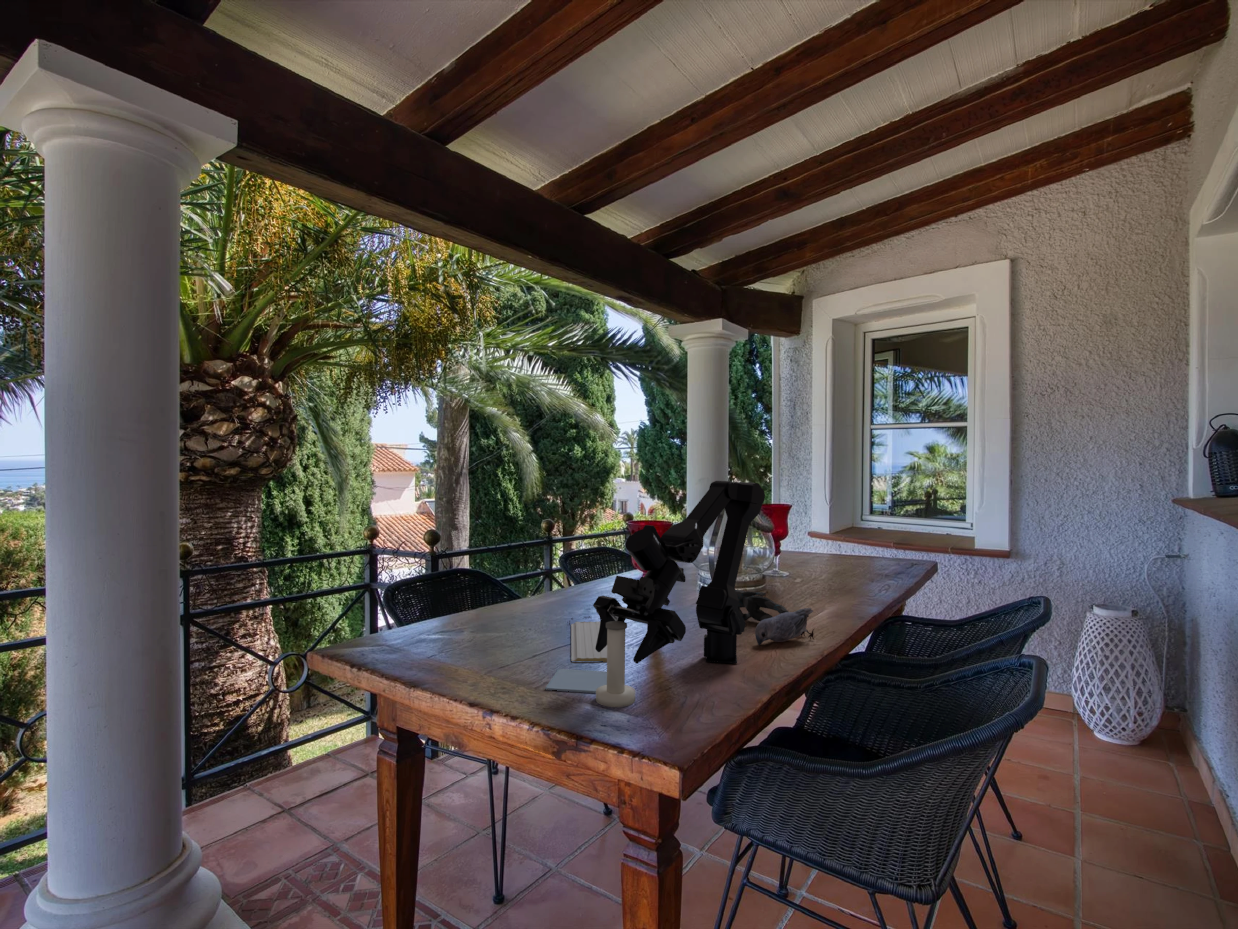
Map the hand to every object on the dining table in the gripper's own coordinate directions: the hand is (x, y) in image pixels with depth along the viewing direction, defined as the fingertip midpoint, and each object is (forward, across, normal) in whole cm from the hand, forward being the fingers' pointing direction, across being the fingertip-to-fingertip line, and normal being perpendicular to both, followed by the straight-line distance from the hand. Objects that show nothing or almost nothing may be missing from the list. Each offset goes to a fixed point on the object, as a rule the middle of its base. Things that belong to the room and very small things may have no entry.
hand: (615, 656), depth 117 cm
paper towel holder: (+5, 0, +6) cm, 8 cm away
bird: (-33, +3, +44) cm, 55 cm away
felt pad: (+4, -11, +7) cm, 14 cm away
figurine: (-42, -11, +53) cm, 69 cm away
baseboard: (-10, -30, +21) cm, 38 cm away
